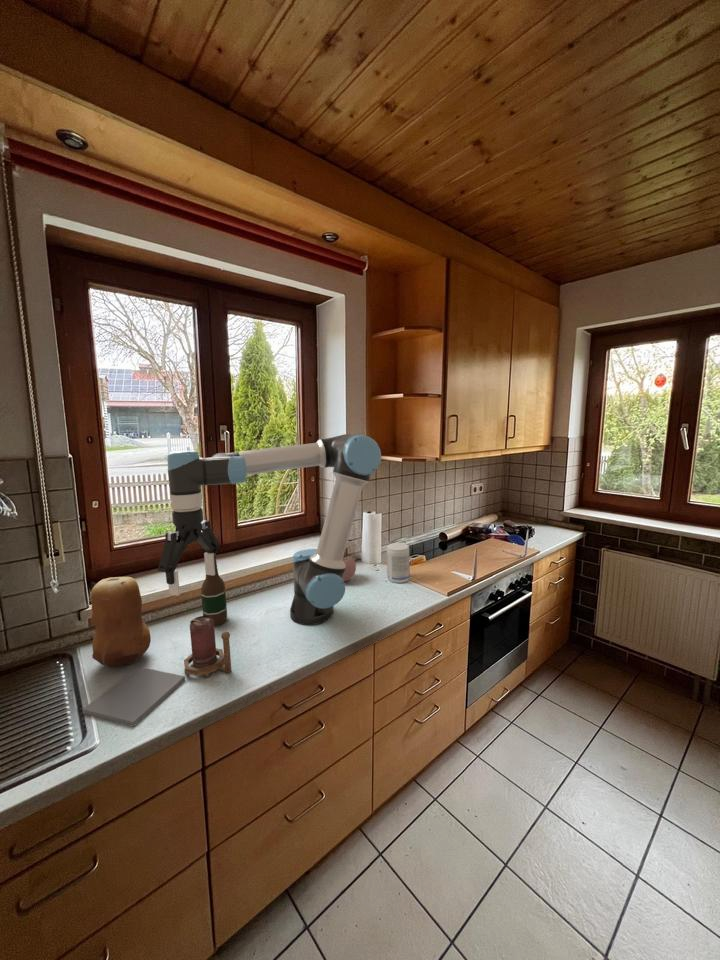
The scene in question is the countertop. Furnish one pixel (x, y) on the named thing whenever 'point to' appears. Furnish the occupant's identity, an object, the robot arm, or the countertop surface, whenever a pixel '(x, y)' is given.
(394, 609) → the countertop surface
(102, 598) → the butternut squash
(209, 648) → the can
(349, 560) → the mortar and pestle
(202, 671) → the ring stand
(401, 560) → the supplement tub
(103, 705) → the plate
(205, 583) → the beer bottle
